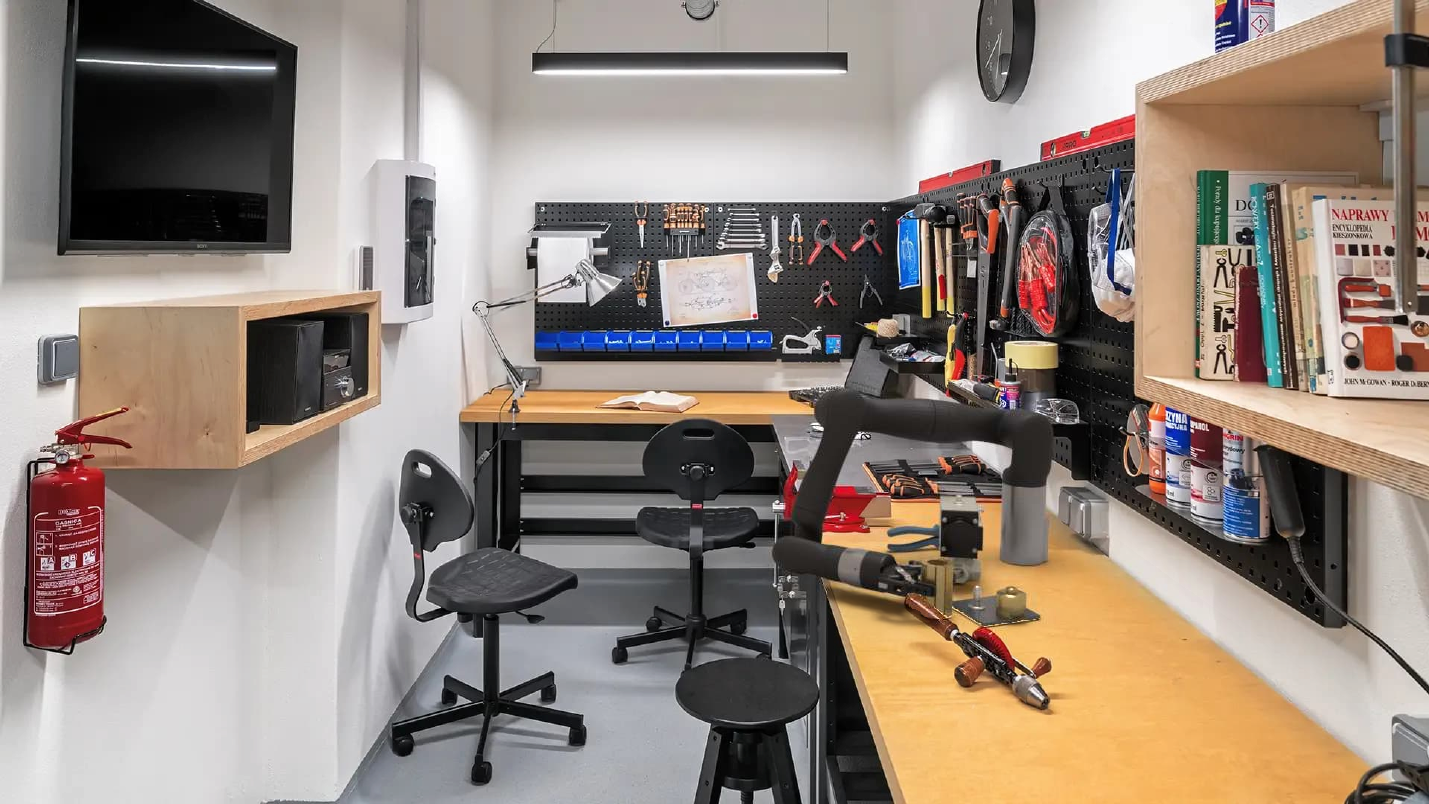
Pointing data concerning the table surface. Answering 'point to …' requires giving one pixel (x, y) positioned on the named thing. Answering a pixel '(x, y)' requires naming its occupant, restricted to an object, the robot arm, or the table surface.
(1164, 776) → the table surface
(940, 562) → the brass grooved sleeve
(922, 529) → the pliers
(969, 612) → the carrier plate
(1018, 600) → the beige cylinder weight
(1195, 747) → the table surface
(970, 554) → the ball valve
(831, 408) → the robot arm
